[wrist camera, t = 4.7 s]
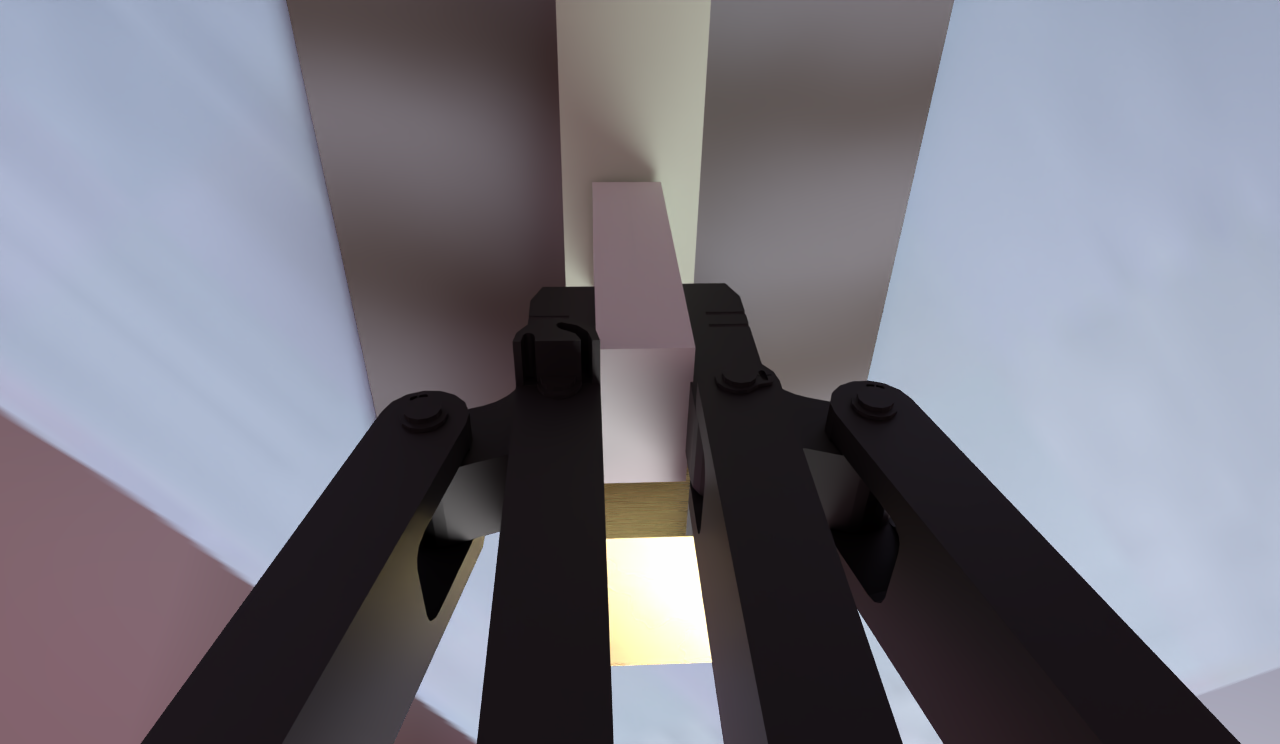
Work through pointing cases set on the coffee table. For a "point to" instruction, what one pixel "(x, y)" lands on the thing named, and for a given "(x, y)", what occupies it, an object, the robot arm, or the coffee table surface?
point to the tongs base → (532, 175)
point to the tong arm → (631, 113)
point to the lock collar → (653, 576)
